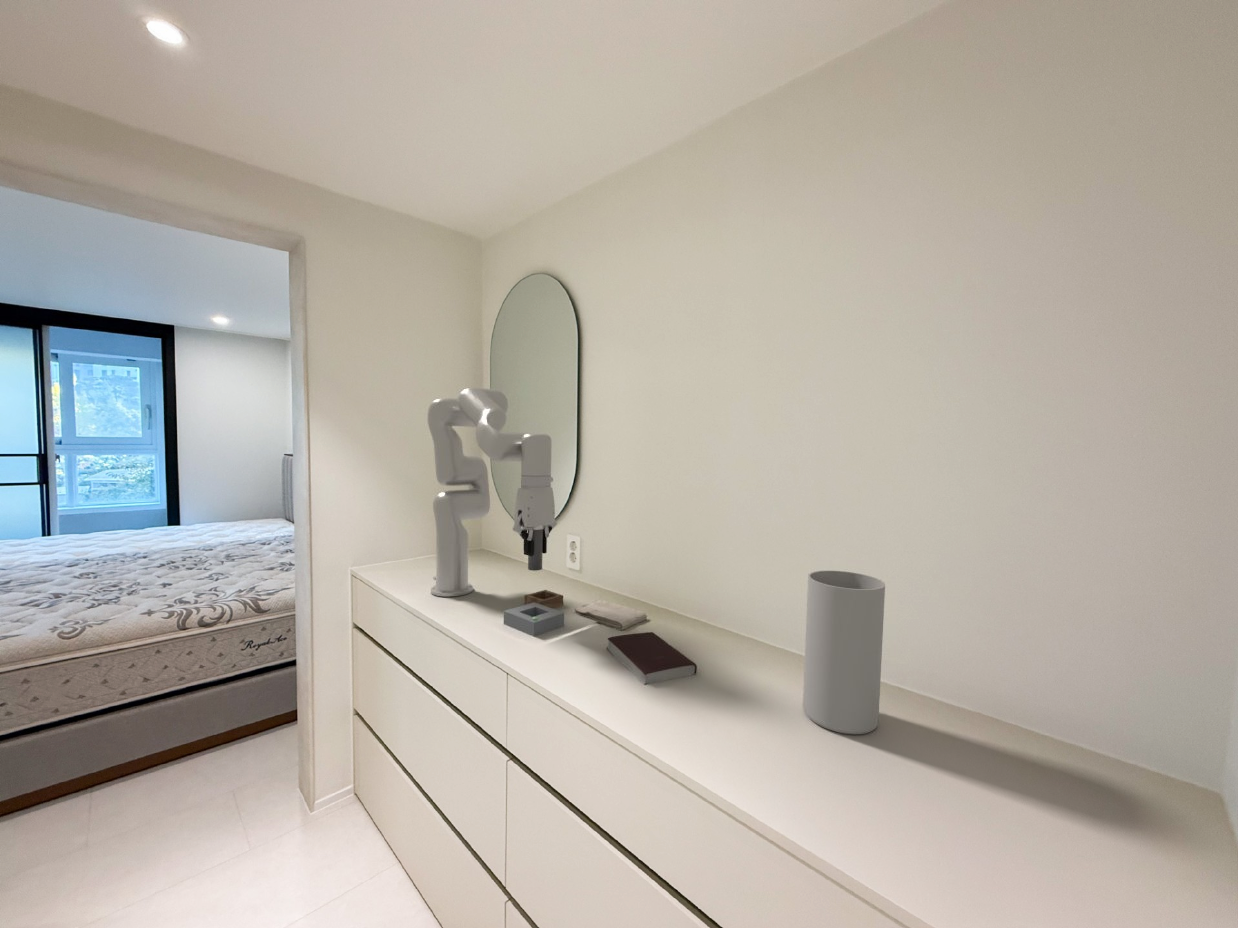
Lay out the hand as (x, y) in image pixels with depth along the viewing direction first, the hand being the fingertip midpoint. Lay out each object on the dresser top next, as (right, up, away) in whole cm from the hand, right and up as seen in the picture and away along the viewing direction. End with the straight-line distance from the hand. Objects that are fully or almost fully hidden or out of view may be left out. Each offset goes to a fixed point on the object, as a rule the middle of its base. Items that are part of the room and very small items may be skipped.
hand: (535, 553), depth 133 cm
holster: (0, -18, +16) cm, 25 cm away
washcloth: (+19, -20, +10) cm, 29 cm away
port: (-1, -19, +1) cm, 19 cm away
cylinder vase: (+61, -23, -39) cm, 76 cm away
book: (+28, -22, -18) cm, 40 cm away
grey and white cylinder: (0, -4, 0) cm, 4 cm away
